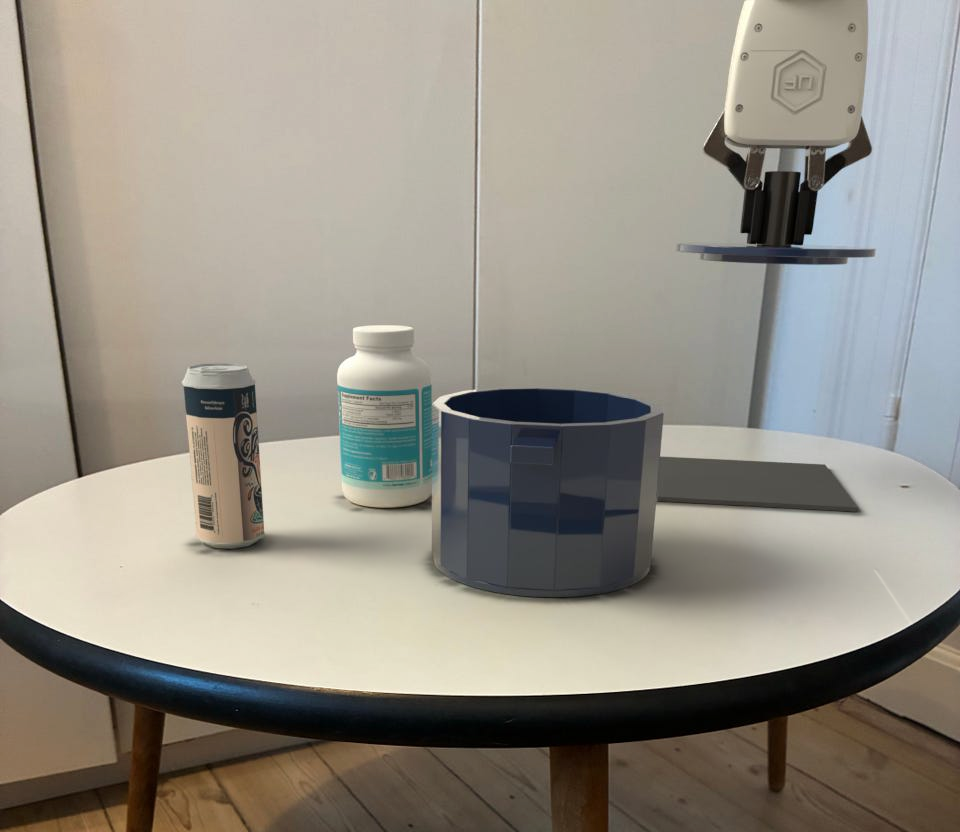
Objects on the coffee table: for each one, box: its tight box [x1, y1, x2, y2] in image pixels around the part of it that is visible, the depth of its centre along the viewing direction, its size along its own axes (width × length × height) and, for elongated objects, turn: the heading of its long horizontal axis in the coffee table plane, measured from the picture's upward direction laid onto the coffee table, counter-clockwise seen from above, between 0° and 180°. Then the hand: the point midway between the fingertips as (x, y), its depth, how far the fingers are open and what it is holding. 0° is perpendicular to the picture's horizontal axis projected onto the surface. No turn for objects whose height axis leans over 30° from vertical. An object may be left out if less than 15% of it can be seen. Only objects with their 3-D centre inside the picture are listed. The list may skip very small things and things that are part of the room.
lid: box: [675, 170, 876, 266], centre depth 83 cm, size 16×16×7 cm
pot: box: [431, 386, 665, 598], centre depth 67 cm, size 15×20×10 cm
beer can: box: [181, 362, 266, 550], centre depth 70 cm, size 5×5×12 cm
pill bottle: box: [336, 324, 433, 509], centre depth 82 cm, size 8×7×14 cm
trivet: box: [656, 455, 858, 513], centre depth 91 cm, size 16×16×1 cm
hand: (774, 242), depth 84 cm, fingers closed on lid, 2 cm apart
